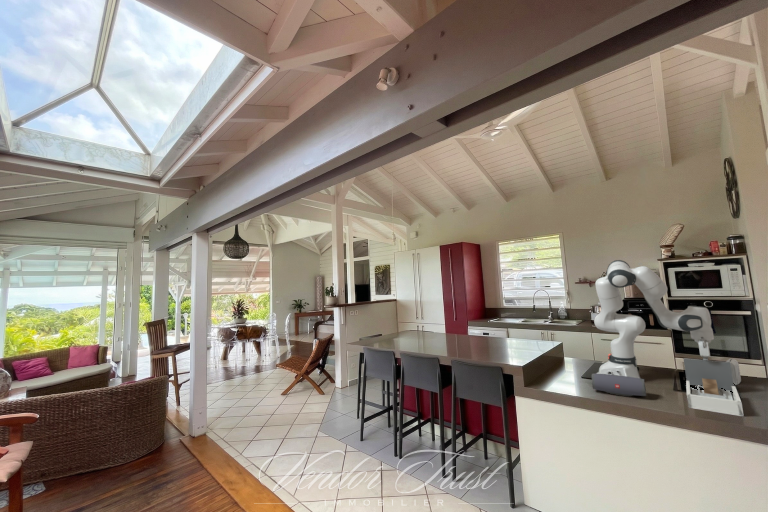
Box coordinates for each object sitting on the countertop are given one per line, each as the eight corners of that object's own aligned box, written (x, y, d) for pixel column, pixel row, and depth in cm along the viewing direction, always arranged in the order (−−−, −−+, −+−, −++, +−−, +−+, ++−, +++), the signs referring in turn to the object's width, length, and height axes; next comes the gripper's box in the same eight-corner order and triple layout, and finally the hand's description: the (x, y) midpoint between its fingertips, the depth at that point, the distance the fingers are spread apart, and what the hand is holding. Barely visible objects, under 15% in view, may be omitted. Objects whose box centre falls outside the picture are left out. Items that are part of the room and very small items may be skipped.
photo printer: (730, 379, 174) (727, 356, 175) (742, 380, 170) (738, 357, 171) (726, 384, 168) (723, 360, 169) (738, 385, 164) (734, 362, 165)
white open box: (688, 407, 147) (686, 394, 147) (687, 392, 162) (686, 380, 163) (743, 416, 135) (741, 402, 135) (737, 399, 151) (735, 386, 151)
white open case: (688, 400, 154) (683, 369, 154) (687, 385, 170) (683, 357, 171) (740, 407, 142) (735, 374, 143) (734, 391, 158) (729, 361, 159)
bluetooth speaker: (593, 393, 171) (590, 375, 171) (594, 388, 178) (592, 370, 179) (646, 401, 156) (644, 381, 157) (646, 395, 164) (643, 375, 164)
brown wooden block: (704, 394, 156) (702, 382, 156) (703, 390, 161) (701, 378, 161) (718, 396, 152) (717, 384, 153) (717, 391, 157) (715, 379, 158)
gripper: (711, 340, 159) (715, 367, 158) (709, 332, 174) (712, 357, 173) (694, 339, 164) (698, 365, 163) (693, 331, 178) (696, 356, 178)
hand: (705, 361), depth 168 cm, fingers closed
